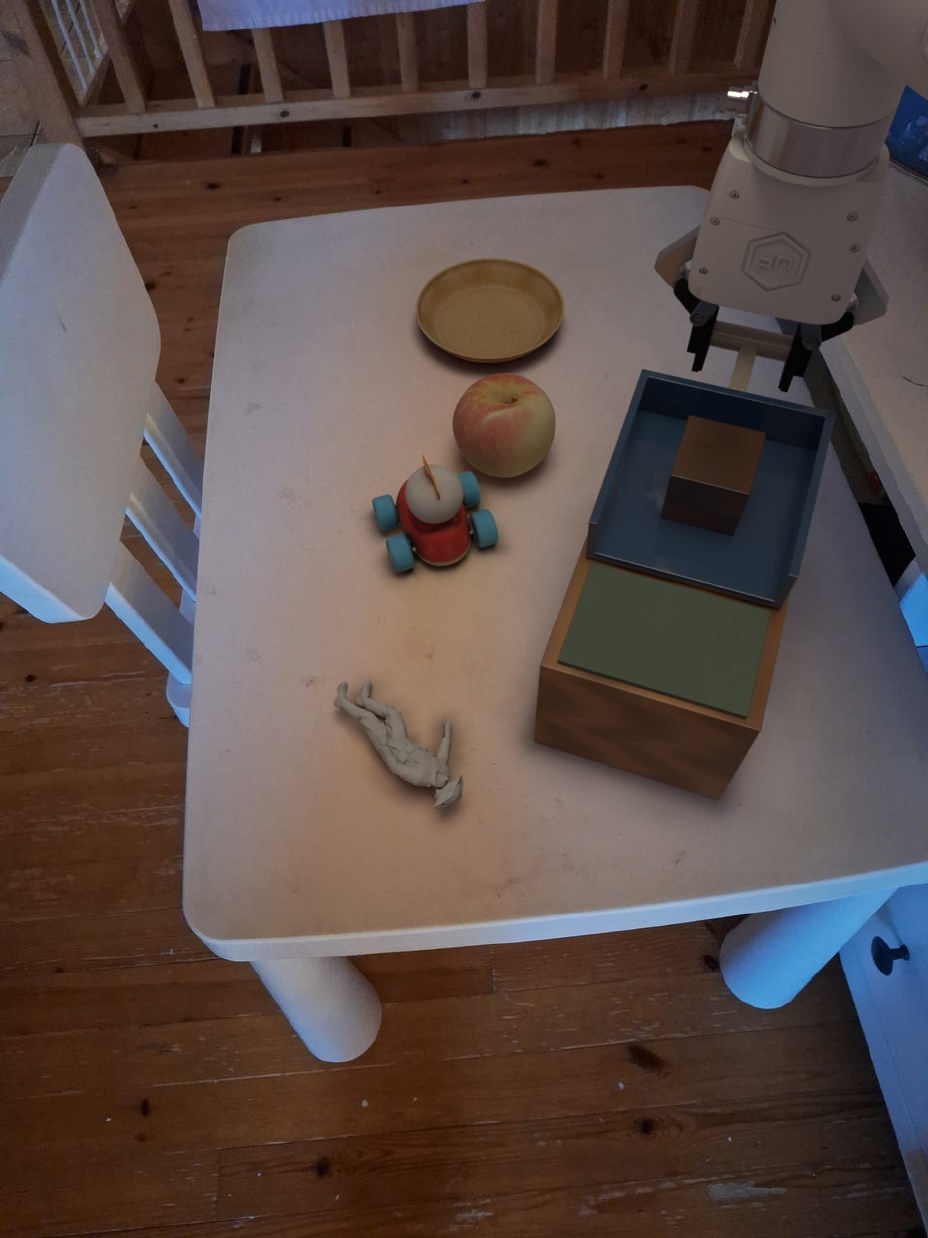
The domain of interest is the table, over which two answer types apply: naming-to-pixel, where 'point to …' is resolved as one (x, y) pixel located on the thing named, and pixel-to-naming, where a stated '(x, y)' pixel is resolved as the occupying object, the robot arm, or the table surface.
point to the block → (712, 475)
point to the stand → (647, 710)
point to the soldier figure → (403, 746)
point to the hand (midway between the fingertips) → (743, 367)
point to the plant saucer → (489, 309)
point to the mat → (666, 639)
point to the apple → (504, 425)
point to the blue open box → (779, 496)
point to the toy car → (434, 517)
